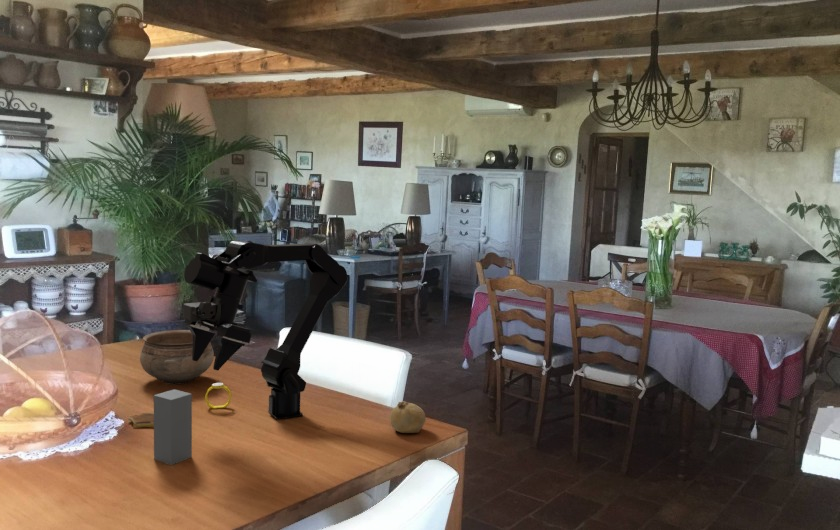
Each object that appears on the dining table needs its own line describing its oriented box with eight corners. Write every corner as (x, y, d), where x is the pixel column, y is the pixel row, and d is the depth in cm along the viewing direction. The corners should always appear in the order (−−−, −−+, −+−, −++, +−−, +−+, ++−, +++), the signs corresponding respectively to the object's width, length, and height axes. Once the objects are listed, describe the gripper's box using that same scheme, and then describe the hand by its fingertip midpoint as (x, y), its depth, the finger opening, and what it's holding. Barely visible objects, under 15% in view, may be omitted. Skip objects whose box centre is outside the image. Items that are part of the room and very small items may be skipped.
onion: (403, 422, 166) (405, 393, 165) (431, 430, 161) (433, 400, 160) (382, 431, 159) (383, 401, 158) (411, 440, 155) (412, 408, 154)
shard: (180, 429, 157) (180, 421, 157) (148, 437, 151) (148, 429, 151) (155, 417, 164) (155, 409, 164) (123, 425, 158) (123, 417, 158)
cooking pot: (149, 369, 203) (149, 327, 201) (217, 368, 206) (218, 327, 205) (130, 395, 178) (130, 347, 177) (208, 393, 182) (208, 347, 180)
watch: (231, 405, 173) (231, 382, 172) (230, 409, 170) (230, 385, 170) (206, 406, 172) (206, 382, 171) (204, 410, 169) (204, 385, 168)
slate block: (174, 451, 143) (174, 389, 142) (191, 457, 141) (191, 393, 139) (154, 459, 139) (153, 395, 137) (171, 465, 136) (171, 400, 135)
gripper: (175, 280, 155) (151, 348, 153) (218, 291, 142) (192, 367, 140) (218, 294, 163) (196, 359, 161) (263, 306, 150) (239, 377, 147)
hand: (204, 365), depth 152 cm, fingers open, 9 cm apart
